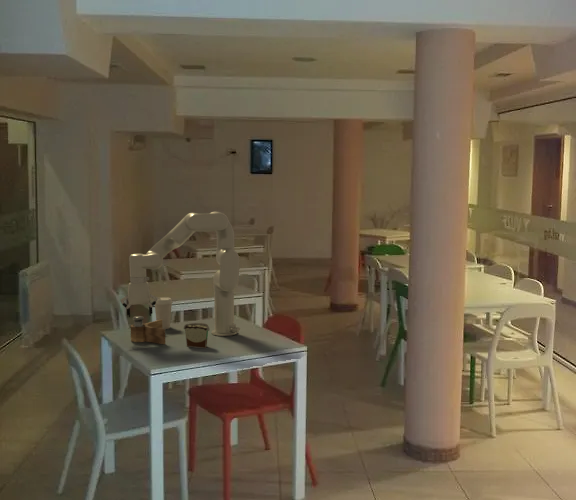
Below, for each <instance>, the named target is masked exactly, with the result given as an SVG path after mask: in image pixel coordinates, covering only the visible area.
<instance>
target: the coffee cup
mask: <svg viewBox="0 0 576 500" xmlns="http://www.w3.org/2000/svg"><path fill="white" fill-rule="evenodd" d="M172 306H173V300H172V298H171V297H167V296H164V297H158V300H157V302H156V304H155V305H154V311H155V321H157V320H162V329H165V330H168V329H170V328H171V319H172V308H173V307H172Z"/></svg>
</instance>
